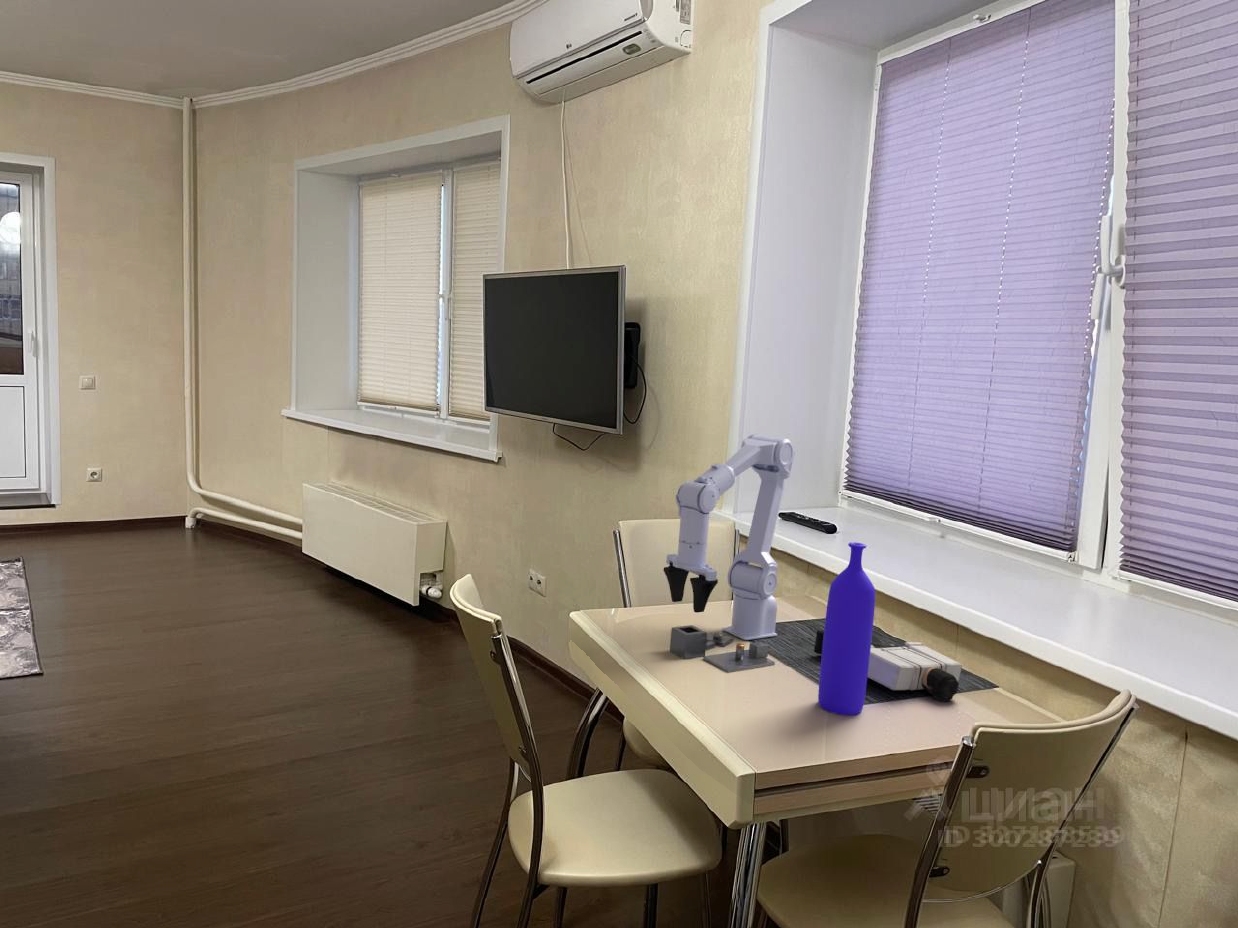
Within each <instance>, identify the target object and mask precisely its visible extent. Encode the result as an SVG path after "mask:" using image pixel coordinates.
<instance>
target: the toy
mask: <svg viewBox="0 0 1238 928" xmlns="http://www.w3.org/2000/svg"><path fill="white" fill-rule="evenodd" d="M823 638H824V629H818V630H817V631H816V635H815V642H814V648H813V652H814V653H816V655H822V647H823ZM962 668H963V665H962V664H961V663H960V662H958V661H957V660H955V659H952V658H950V657H948V656H946V655H944V654H942V653H940V652H938V651H936V650H934V649H932V648H930V647H928V646H926V645H924V643H922V642H919V641H918V642H915V641H906V642H904V644H903V645H902V644H891V643H886V642H883V641H881V639H879V638H878V637H877V636H875V634H873V633H872V641H871V650H870V659H869V668H868V677H867V679H871V681H874V682H876V683H878V684H880V685H881V686H884V687H885V688H888V689H889V690H892V691H907V690H909V691H919V690H924V691H926V692H928V693H930V695H932V696H933V698H934V699H936V700H937V701H939V702H944V703H947V702H950V701H951V700H952V699H953V698H954V696H955V695H956V694H957V693H958V690H959V680H960V676H961V672H962Z"/></svg>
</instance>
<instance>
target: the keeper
mask: <svg viewBox="0 0 1238 928" xmlns="http://www.w3.org/2000/svg"><path fill="white" fill-rule="evenodd" d="M735 645H736V646H735V651H730V652H725V653H717V654H711V655H705V656H702V659H703V661H706V662H707V663H710V664H711V665H713V666H715V667H717V668H719V669H722V670H723V671H725V672H727V673H732V672H740V671H744V670H750V669H755V668H761V667H762V668H763V667H769V666H774V665H775V664H776V663H775V661H774V660H772V659H770V658H769V657H768V655H769V644H767V643H764V642H763V641H756V642H751V643H749V647H748V649H745V644H743V643H740V642H738V643H736V644H735Z"/></svg>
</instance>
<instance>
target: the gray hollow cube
mask: <svg viewBox="0 0 1238 928" xmlns="http://www.w3.org/2000/svg"><path fill="white" fill-rule="evenodd" d="M707 635H708V631H705V630H703V629H701V628H699V627H697V626H696V625H693V624H690V625H689V624H688V625H683V626H680V625H679V626H673V627H671V630H670V640H669V641H670V643H669V652H671V653H672V654H674V655H676V656H678V657H680V658H682V659H684V660H687V659H695V658H701V657H702V658H703V656H706V653H707V652H706V651H707V650H706V641H707Z"/></svg>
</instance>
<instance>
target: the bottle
mask: <svg viewBox="0 0 1238 928" xmlns="http://www.w3.org/2000/svg"><path fill="white" fill-rule="evenodd" d="M847 546H848V547H850V555H849V556H850V557H849V562H848V565H847V567H846V568H845V569H843V570H842V571H841V572H840V573H839V574H838V575H837V576H836V577H835V578H834V579H833V580H832V582H831V584H830V586H829V591H828V597H827V598H828V599H827V605H826V612H825V620H824V629H823V630H824V638H823V647H822V654H821V659H820V670H819V679H818V695H817V696H818V697H817V699H818V705H819V706H820V708H821V709H823V710H824V711H827V712H829V713H832V714H834V715H841V716H856V715H858V714H861V712H862V711H863V709H864V705H865V704H864V703H865V700H866V699H865V698H866V691H867V685H868V668H869V659H870V650H871V641H872V634H873V630H874V629H873V628H874V619H875V606H876V604H875V603H876V589H875V586H874V584H873V582H872V581H871V579H870V577H869V576H868V575H867V573H866V571H865V570H864V569H863V566H862V558H863V550H864V549H866V548H867V545H866V544H864V543H861V542H857V541H855V542H849V543H848V545H847Z"/></svg>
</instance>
